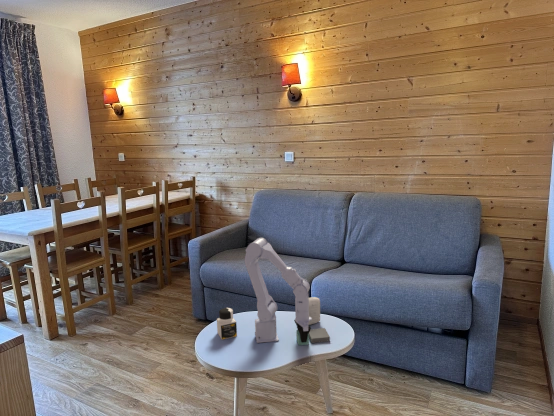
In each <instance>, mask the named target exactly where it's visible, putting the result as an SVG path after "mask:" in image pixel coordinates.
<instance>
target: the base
mask: <svg viewBox="0 0 554 416" xmlns="http://www.w3.org/2000/svg"><path fill="white" fill-rule="evenodd" d="M330 341H331V337H330V335H329V333H328V331H327V329H326V328H325V327H324V328H322V327H321V328H313V329H312V328H311V330H310V332H309V342H310V343H311V344H313V343H316V344H317V343H325V342H330Z"/></svg>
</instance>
